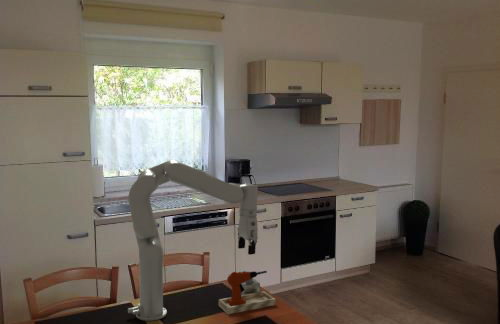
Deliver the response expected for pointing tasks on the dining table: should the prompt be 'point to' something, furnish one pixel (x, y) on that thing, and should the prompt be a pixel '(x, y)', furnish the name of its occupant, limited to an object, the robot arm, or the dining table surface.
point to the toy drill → (239, 285)
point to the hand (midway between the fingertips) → (246, 251)
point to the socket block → (251, 287)
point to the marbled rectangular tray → (248, 302)
